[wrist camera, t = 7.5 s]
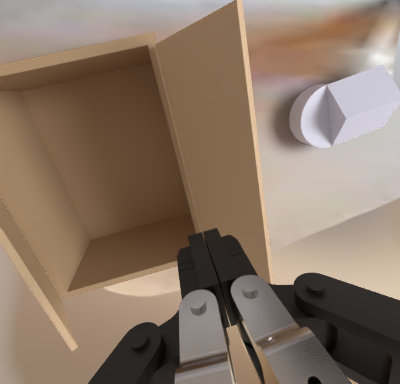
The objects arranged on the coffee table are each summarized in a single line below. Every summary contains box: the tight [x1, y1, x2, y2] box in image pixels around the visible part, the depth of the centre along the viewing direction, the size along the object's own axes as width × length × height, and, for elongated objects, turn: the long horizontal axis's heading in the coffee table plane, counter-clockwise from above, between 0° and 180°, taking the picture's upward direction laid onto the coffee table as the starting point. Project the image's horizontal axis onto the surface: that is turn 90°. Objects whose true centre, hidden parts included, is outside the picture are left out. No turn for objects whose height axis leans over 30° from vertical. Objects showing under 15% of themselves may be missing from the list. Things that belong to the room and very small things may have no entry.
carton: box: [0, 32, 201, 299], centre depth 29 cm, size 24×18×12 cm
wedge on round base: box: [289, 65, 400, 148], centre depth 35 cm, size 9×7×13 cm
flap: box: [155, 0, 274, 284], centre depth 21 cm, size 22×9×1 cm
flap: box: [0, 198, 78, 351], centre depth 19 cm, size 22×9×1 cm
